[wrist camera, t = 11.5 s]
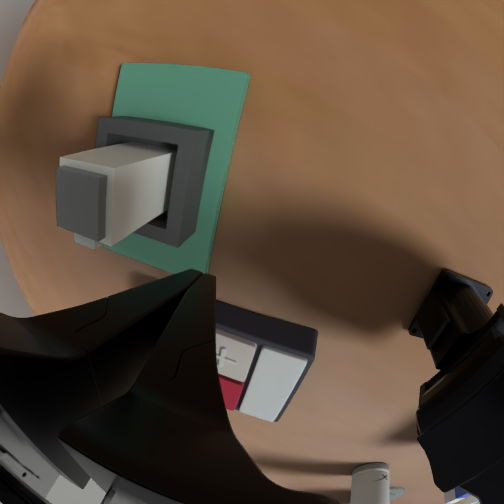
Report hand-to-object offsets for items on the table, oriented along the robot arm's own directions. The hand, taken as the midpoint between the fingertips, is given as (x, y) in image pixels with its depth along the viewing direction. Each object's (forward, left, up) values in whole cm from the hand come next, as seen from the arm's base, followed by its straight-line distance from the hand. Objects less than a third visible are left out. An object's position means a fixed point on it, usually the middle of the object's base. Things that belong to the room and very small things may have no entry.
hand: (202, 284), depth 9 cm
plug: (+8, 0, -10) cm, 13 cm away
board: (+8, 0, -12) cm, 14 cm away
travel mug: (-28, +36, -12) cm, 47 cm away
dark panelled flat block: (0, +15, -13) cm, 20 cm away
